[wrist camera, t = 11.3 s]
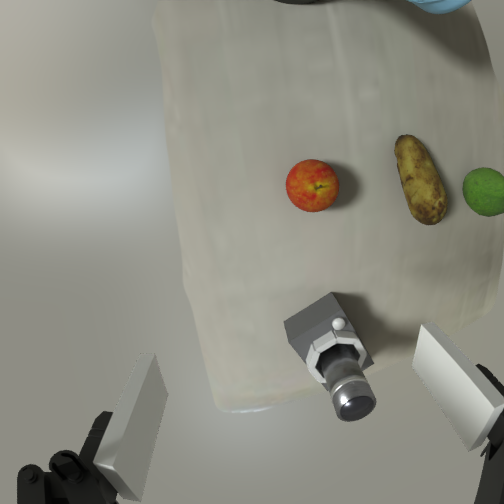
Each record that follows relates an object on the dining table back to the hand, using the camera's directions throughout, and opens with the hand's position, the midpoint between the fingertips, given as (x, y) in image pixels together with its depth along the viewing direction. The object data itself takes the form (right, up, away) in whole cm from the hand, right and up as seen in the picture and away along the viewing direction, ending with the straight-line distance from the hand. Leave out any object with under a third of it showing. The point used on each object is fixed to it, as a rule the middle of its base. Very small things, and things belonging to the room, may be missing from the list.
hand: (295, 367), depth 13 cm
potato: (+22, +17, +29) cm, 40 cm away
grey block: (+10, -8, +36) cm, 38 cm away
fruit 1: (+6, +15, +29) cm, 33 cm away
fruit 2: (+36, +17, +29) cm, 49 cm away
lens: (+11, -10, +30) cm, 34 cm away
